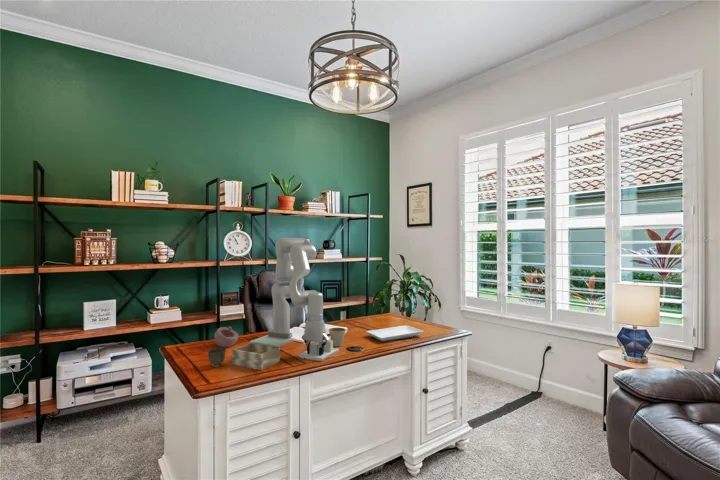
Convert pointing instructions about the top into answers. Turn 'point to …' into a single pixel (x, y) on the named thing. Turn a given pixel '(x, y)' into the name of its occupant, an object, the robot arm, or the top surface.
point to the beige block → (328, 346)
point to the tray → (394, 333)
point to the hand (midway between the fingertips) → (315, 353)
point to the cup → (216, 356)
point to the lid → (273, 339)
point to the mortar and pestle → (225, 337)
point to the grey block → (314, 349)
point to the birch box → (256, 356)
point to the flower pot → (337, 336)
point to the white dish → (318, 358)
